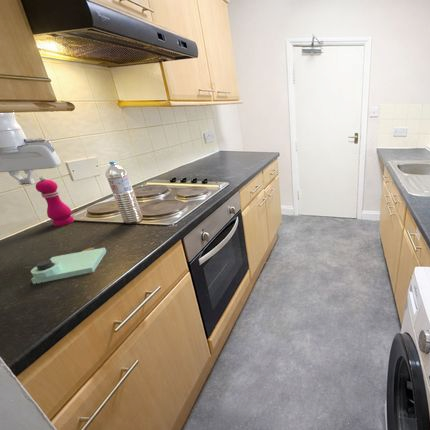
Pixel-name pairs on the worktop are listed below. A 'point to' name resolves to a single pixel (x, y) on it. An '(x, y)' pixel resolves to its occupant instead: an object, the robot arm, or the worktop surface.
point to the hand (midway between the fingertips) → (27, 184)
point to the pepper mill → (54, 202)
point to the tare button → (44, 265)
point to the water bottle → (123, 194)
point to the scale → (69, 265)
